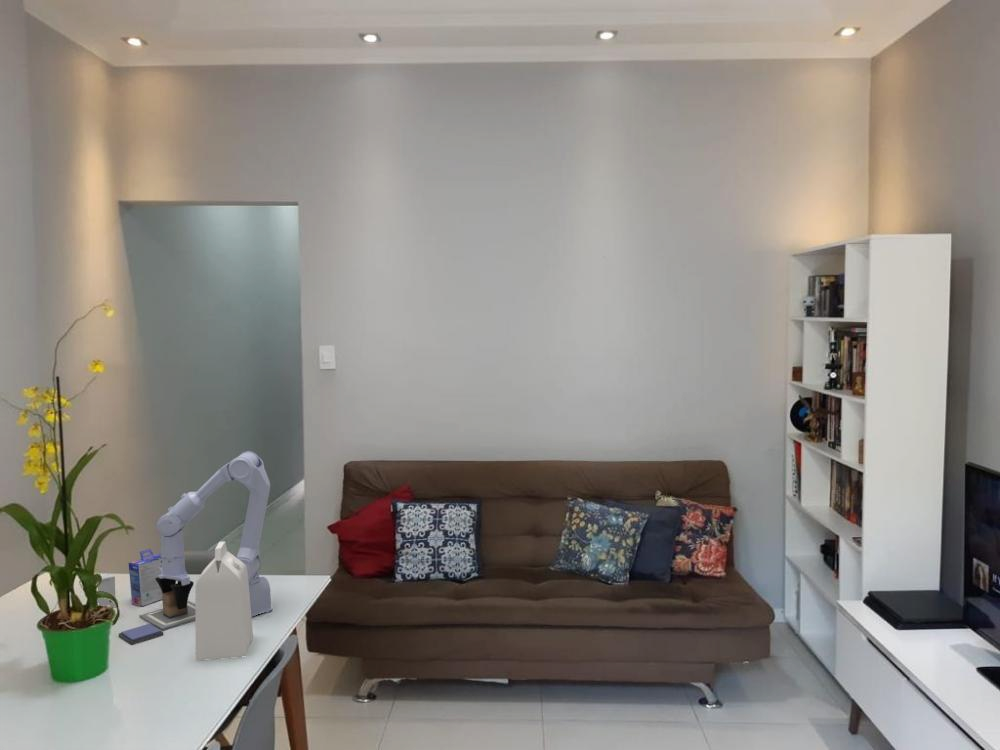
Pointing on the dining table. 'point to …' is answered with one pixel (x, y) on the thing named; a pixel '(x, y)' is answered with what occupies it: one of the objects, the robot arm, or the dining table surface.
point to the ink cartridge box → (145, 579)
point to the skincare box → (107, 588)
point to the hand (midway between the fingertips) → (175, 604)
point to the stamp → (171, 606)
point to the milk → (223, 608)
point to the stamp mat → (165, 623)
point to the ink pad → (140, 634)
